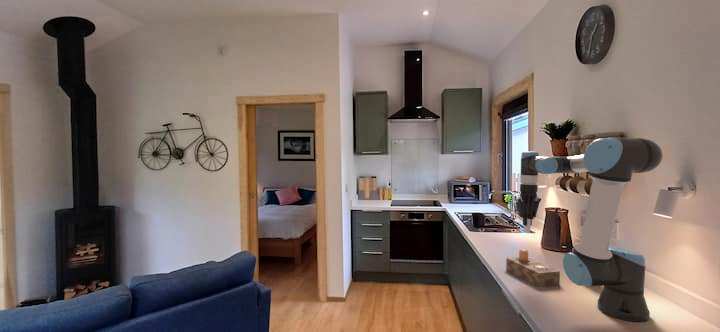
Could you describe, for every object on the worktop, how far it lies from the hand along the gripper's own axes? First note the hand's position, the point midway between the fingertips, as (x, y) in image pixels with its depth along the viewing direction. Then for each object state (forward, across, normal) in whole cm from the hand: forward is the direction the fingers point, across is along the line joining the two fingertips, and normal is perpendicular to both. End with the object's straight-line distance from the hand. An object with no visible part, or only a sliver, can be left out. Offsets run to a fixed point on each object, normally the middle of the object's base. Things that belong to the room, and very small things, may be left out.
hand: (526, 232), depth 162 cm
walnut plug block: (+20, 0, +4) cm, 21 cm away
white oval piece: (+20, 0, +10) cm, 22 cm away
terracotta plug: (+16, 0, -1) cm, 16 cm away
